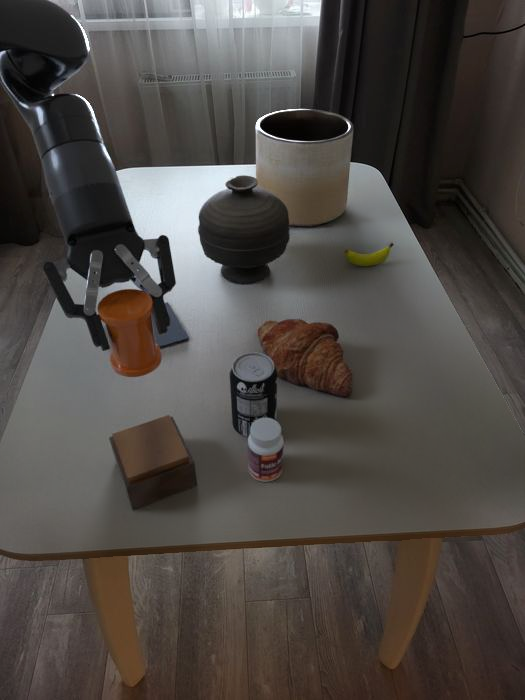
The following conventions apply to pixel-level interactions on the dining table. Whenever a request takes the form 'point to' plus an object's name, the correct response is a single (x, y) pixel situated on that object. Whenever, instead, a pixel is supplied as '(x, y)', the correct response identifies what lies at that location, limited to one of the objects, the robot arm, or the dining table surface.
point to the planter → (305, 162)
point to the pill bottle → (265, 450)
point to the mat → (170, 331)
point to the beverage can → (252, 390)
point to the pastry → (307, 354)
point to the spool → (130, 332)
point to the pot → (244, 230)
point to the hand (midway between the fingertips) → (135, 340)
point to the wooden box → (153, 461)
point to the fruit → (368, 257)
